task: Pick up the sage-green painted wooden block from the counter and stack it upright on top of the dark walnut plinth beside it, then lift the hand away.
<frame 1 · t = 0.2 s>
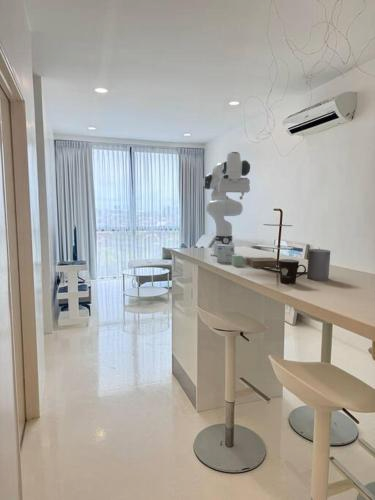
hand: (233, 199, 215), 39 cm above the worktop, tool pointing down, fingers open, 8 cm apart
light bulb box: (225, 262, 213), on the worktop
coffee mug: (289, 283, 150), on the worktop
pillar candle: (317, 279, 162), on the worktop
walnut plinth: (263, 266, 197), on the worktop
sage block: (236, 265, 198), on the worktop
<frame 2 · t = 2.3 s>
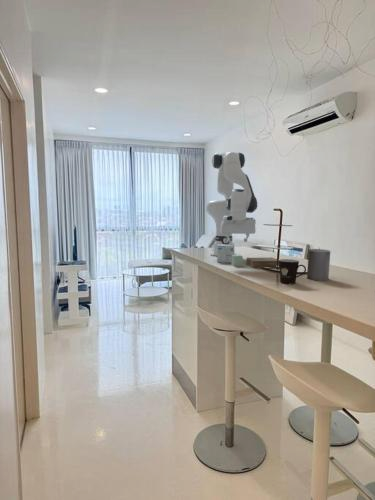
hand: (237, 241, 196), 14 cm above the worktop, tool pointing down, fingers open, 8 cm apart
nothing on the worktop moved.
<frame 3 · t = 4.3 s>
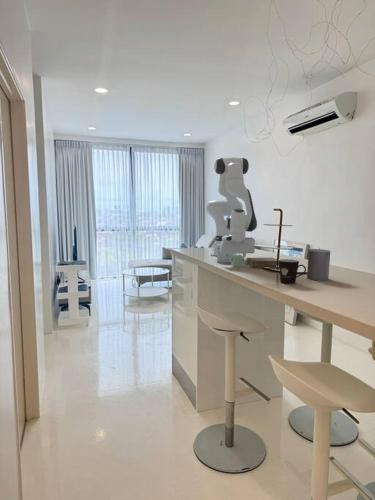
hand: (236, 261, 198), 3 cm above the worktop, tool pointing down, fingers closed on sage block, 5 cm apart
sage block: (236, 265, 198), on the worktop, touching gripper
everything else where it was.
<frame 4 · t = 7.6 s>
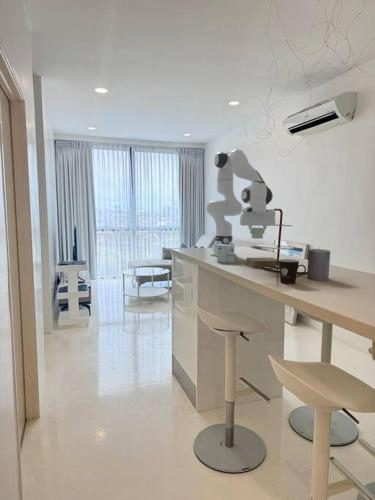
hand: (257, 233, 195), 19 cm above the worktop, tool pointing down, fingers closed on sage block, 5 cm apart
sage block: (257, 238, 195), point 16 cm above the worktop, touching gripper
everything else where it was.
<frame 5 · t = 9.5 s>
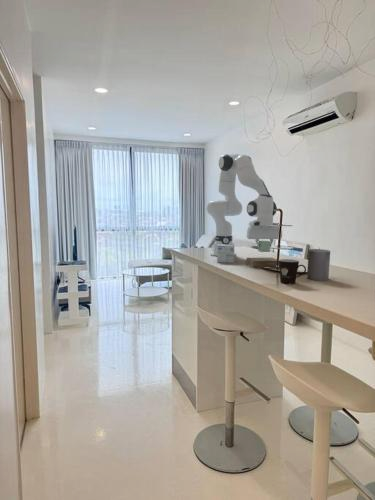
hand: (264, 246, 196), 11 cm above the worktop, tool pointing down, fingers closed on sage block, 5 cm apart
sage block: (264, 251, 196), point 9 cm above the worktop, touching gripper
everything else where it was.
when the fingers open (8 cm above the worktop, at t = 10.9 s): sage block drops 1 cm, resting on walnut plinth.
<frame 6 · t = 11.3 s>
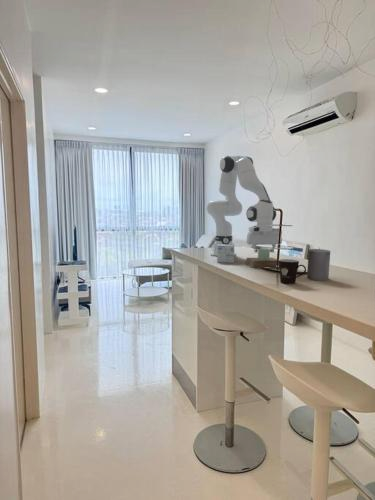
hand: (263, 252, 196), 8 cm above the worktop, tool pointing down, fingers open, 8 cm apart
sage block: (263, 259, 197), point 4 cm above the worktop, touching walnut plinth
everything else where it was.
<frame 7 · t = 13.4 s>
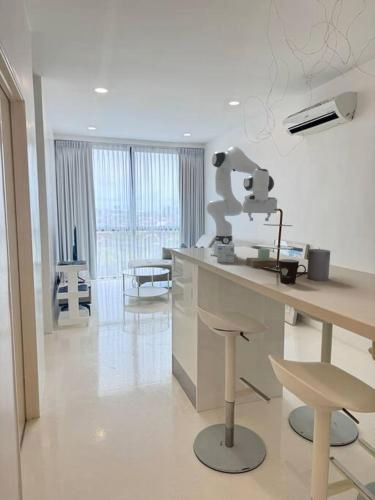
hand: (259, 220, 199), 26 cm above the worktop, tool pointing down, fingers open, 8 cm apart
nothing on the worktop moved.
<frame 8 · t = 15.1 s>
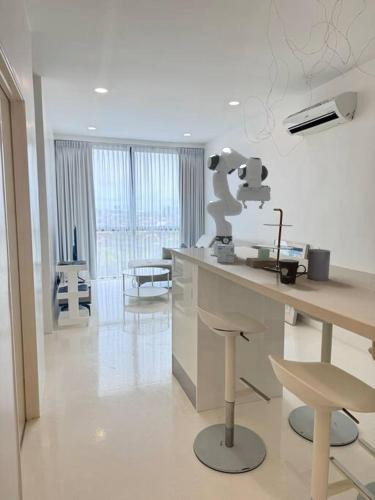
hand: (253, 208, 203), 33 cm above the worktop, tool pointing down, fingers open, 8 cm apart
nothing on the worktop moved.
at the end: sage block inside the target area on the walnut plinth (0.0 cm from its centre), point 4.0 cm above the walnut plinth's base; sage block tilted 0°; sage block touching walnut plinth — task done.
